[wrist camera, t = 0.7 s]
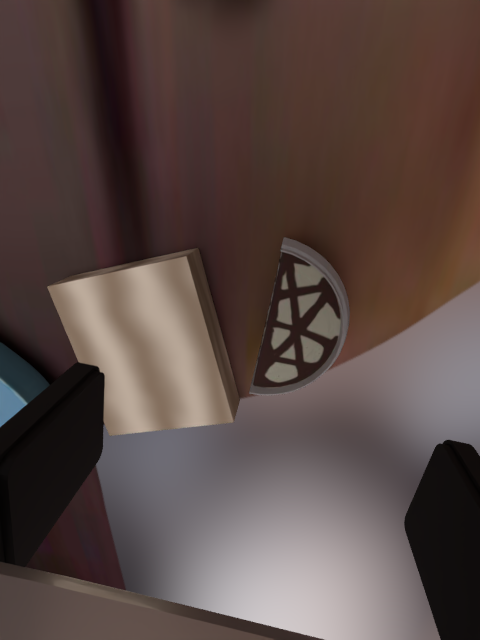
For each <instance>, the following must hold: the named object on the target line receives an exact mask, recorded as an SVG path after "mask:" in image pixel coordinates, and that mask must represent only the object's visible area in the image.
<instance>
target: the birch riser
mask: <svg viewBox="0 0 480 640" xmlns="http://www.w3.org/2000/svg"><path fill="white" fill-rule="evenodd" d="M47 287H48V290H49V292H50V294H51V297H52V299H53V302H54V304H55V306H56V309H57V311H58V314H59V316H60V318H61V321H62V323H63V326H64V328H65V330H66V333H67V335H68V337H69V340H70V342H71V345H72V347H73V349H74V352H75V354H76V357H77V359H78V361H79V362H80V363H85V364H89V365H94V366H98V367H99V369H100V372H103V373H104V375H105V388H104V423H105V426H106V428H107V431H108V433H109V435H110V436H112V435H121V434H130V433H139V432H148V431H158V430H167V429H177V428H185V427H194V426H205V425H213V424H223V423H231V422H234V419H235V416H236V412H237V409H238V405H239V401H240V399H239V395H238V391H237V388H236V384H235V380H234V377H233V373H232V369H231V366H230V362H229V358H228V355H227V351H226V347H225V344H224V340H223V336H222V333H221V329H220V325H219V322H218V318H217V314H216V311H215V307H214V303H213V300H212V296H211V292H210V289H209V285H208V281H207V278H206V274H205V270H204V267H203V263H202V259H201V256H200V252H199V248H195V249H190V250H186V251H181V252H177V253H172V254H168V255H163V256H159V257H154V258H150V259H145V260H141V261H136V262H132V263H127V264H123V265H118V266H114V267H109V268H105V269H100V270H96V271H91V272H87V273H82V274H78V275H73V276H70V277H68V278H66V279H63V280H61V281H59V282H57V283H54V284H52V285H50V286H47Z"/></svg>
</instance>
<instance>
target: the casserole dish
mask: <svg viewBox="0 0 480 640" xmlns="http://www.w3.org/2000/svg"><path fill="white" fill-rule="evenodd" d="M49 385H50V384H49V383H48V382H47V381H46V379H45V378H44V377H43V376H42V375H41V374H40V373H39V372H38V371H37V370H36V369H35V368H34V367H32V366H31V365H30V364H29V363H28V362H26V361H25V360H24V359H23V358H21V357H20V356H19V355H18V354H16V353H15V352H13V351H12V350H11V349H9V348H8V347H7V346H5V345H4V344H3V343H1V342H0V427H1V426H2V425H3V424H4V423H6V422H7V421H8V420H9V419H10V418H12V417H13V416H14V415H15V414H16V413H17V412H19V411H20V410H21V409H22V408H23V407H25V406H26V405H27V404H28V403H29V402H30V401H32V400H33V399H34V398H35V397H36V396H38V395H39V394H40V393H41V392H42V391H43V390H45V389H46V388H47V387H48V386H49Z"/></svg>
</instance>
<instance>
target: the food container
mask: <svg viewBox="0 0 480 640" xmlns="http://www.w3.org/2000/svg"><path fill="white" fill-rule="evenodd" d="M349 315H350V309H349V302H348V297H347V294H346V290H345V287H344V285H343V283H342V281H341V279H340V277H339V275H338V274H337V272H336V271H335V270H334V268H333V267H332V266H331V264H330V263H329V262H328V261H327V260H326V259H325V258H323V257H322V256H321V255H320V254H319V253H317V252H316V251H315V250H313V249H312V248H310V247H309V246H306V245H304V244H302V243H300V242H298V241H296V240H292V239H289V238H285V237H284V239H283V243H282V247H281V257H280V259H279V266H278V270H277V275H276V279H275V284H274V288H273V293H272V297H271V302H270V306H269V311H268V314H267V320H266V323H265V324H266V325H265V329H264V333H263V335H262V336H263V337H262V342H261V346H260V350H259V354H258V358H257V362H256V367H255V371H254V375H253V379H252V383H251V387H250V392H249V393H250V394H256V395H280V394H285V393H290V392H294V391H296V390H299V389H301V388H303V387H305V386H307V385H309V384H311V383H312V382H314V381H315V380H317V379H318V378H319V377H320V376H321V375H322V374H324V373H325V372H326V371H327V370H328V369H329V368H330V367H331V365H332V364H333V363H334V362H335V360H336V358H337V357H338V355H339V354H340V352H341V349H342V347H343V344H344V342H345V339H346V335H347V331H348V326H349Z"/></svg>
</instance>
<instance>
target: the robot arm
mask: <svg viewBox="0 0 480 640" xmlns="http://www.w3.org/2000/svg"><path fill="white" fill-rule="evenodd" d="M104 388H105V375H104V373H103V372H100V369H99V367H98V366H94V365H89V364H85V363H80V362H77V363H76V364H74V365H73V366H72V367H71V368H69V369H68V370H67V371H66V372H65V373H64V374H62V375H61V376H60V377H59V378H58V379H56V380H55V381H54V382H53V383H52V384H51V385H49V386H48V387H47V388H46V389H45V390H43V391H42V392H41V393H40V394H39V395H38V396H36V397H35V398H34V399H33V400H32V401H30V402H29V403H28V404H27V405H26V406H25V407H23V408H22V409H21V410H20V411H19V412H17V413H16V414H15V415H14V416H13V417H12V418H10V419H9V420H8V421H7V422H6V423H4V424H3V425H2V426H1V427H0V640H324V639H319V638H316V637H312V636H307V635H303V634H299V633H295V632H291V631H287V630H283V629H279V628H275V627H271V626H267V625H263V624H259V623H255V622H251V621H247V620H243V619H239V618H235V617H231V616H227V615H223V614H219V613H215V612H211V611H207V610H203V609H198V608H194V607H191V606H186V605H182V604H178V603H174V602H170V601H166V600H162V599H158V598H154V597H149V596H145V595H141V594H137V593H133V592H129V591H125V590H120V589H116V588H112V587H108V586H104V585H100V584H96V583H91V582H87V581H83V580H79V579H75V578H71V577H67V576H62V575H57V574H53V573H48V572H44V571H39V570H35V569H30V568H26V567H25V566H26V565H27V563H28V562H29V561H30V559H31V558H32V556H33V555H34V553H35V552H36V550H37V549H38V547H39V546H40V545H41V543H42V542H43V540H44V539H45V537H46V536H47V534H48V533H49V532H50V530H51V529H52V527H53V526H54V524H55V523H56V521H57V520H58V518H59V517H60V516H61V514H62V513H63V511H64V510H65V508H66V507H67V505H68V504H69V503H70V501H71V500H72V498H73V497H74V495H75V494H76V492H77V491H78V490H79V488H80V487H81V485H82V484H83V482H84V481H85V479H86V478H87V476H88V475H89V474H90V472H91V471H92V469H93V468H94V466H95V465H96V463H97V462H98V460H99V458H100V456H101V453H102V449H103V422H104ZM404 523H405V531H406V534H407V537H408V540H409V543H410V546H411V550H412V553H413V556H414V559H415V562H416V565H417V568H418V571H419V574H420V577H421V580H422V583H423V586H424V589H425V593H426V596H427V599H428V601H429V605H430V608H431V611H432V614H433V617H434V620H435V623H436V626H437V629H438V632H439V636H440V638H441V640H480V456H479V455H478V453H477V452H476V450H475V449H474V447H472V445H470V444H466V443H461V442H456V441H452V440H446V441H444V442H443V444H438V445H437V446H436V447H435V449H434V451H433V454H432V456H431V459H430V461H429V463H428V465H427V467H426V470H425V472H424V474H423V477H422V479H421V481H420V484H419V486H418V488H417V490H416V493H415V495H414V498H413V500H412V502H411V504H410V507H409V509H408V511H407V513H406V516H405V522H404Z"/></svg>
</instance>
